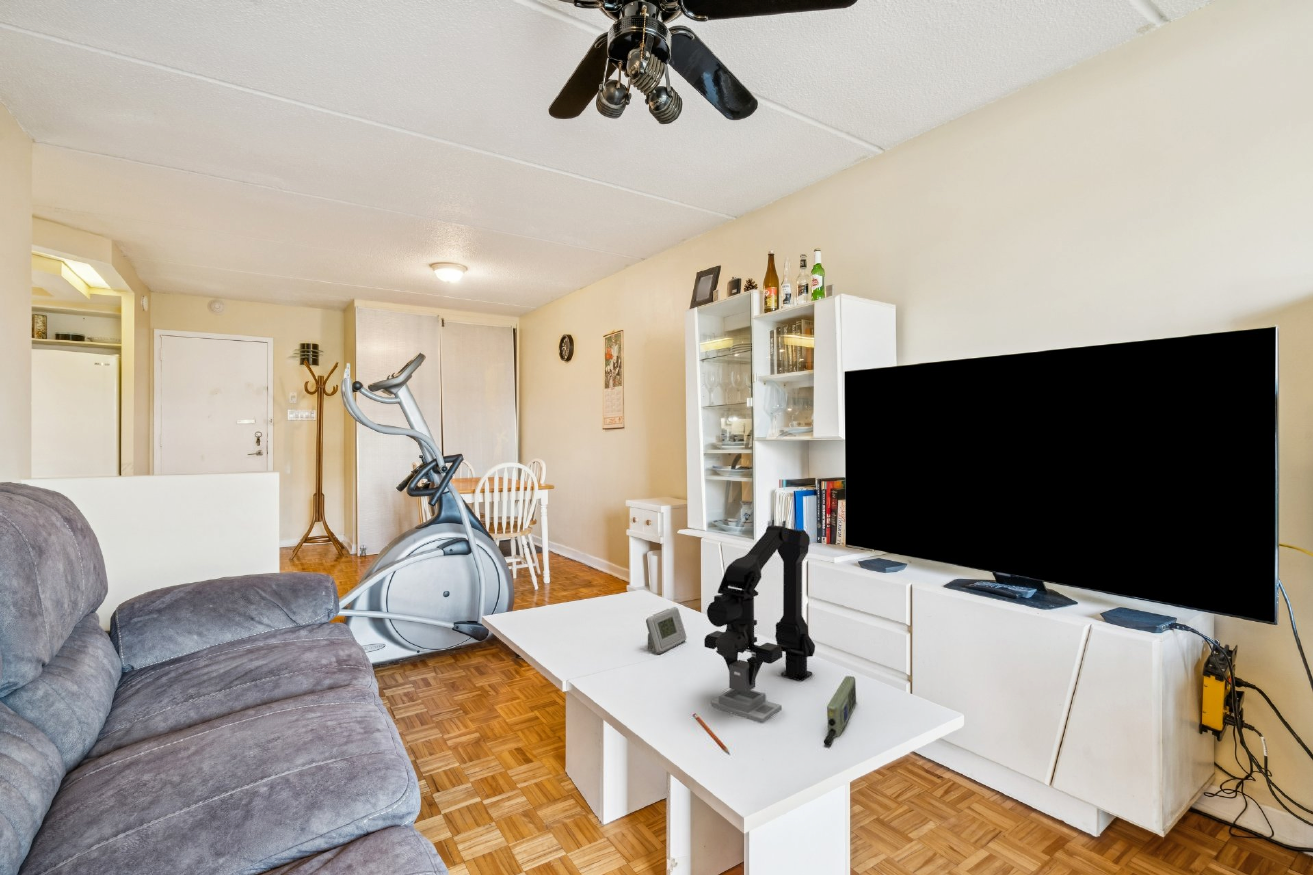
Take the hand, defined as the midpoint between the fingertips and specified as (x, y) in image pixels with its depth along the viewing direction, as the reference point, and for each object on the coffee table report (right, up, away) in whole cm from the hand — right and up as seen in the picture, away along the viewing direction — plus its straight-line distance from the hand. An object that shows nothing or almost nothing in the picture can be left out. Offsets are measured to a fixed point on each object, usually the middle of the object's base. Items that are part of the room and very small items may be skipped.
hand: (742, 682), depth 145 cm
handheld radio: (+21, -6, -9) cm, 23 cm away
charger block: (0, -1, 0) cm, 1 cm away
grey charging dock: (+1, -6, -1) cm, 6 cm away
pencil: (-9, -6, -14) cm, 17 cm away
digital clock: (-17, -7, +43) cm, 46 cm away
